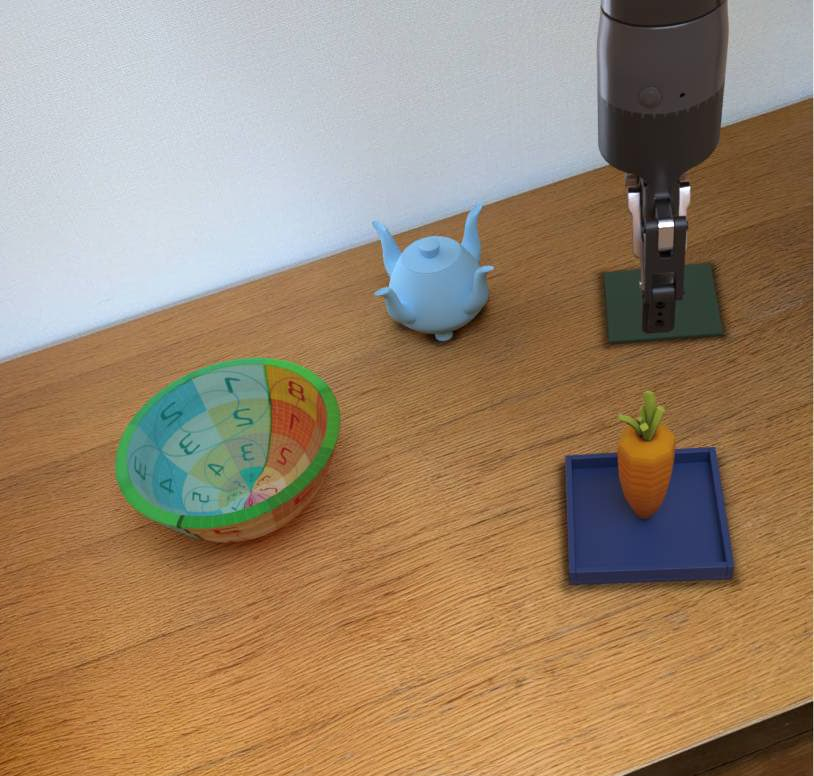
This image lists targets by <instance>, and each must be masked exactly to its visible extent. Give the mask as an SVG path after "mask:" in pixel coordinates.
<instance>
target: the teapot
mask: <svg viewBox="0 0 814 776" xmlns="http://www.w3.org/2000/svg"><path fill="white" fill-rule="evenodd" d="M482 208H483V203H481V202H479V203H477V204H475V205H474V206H473V207H472V208H471V209H470V210H469V212H468V214H467V217H466V220H465V225H464V231H463V238H462V241H461V243H460V242H458V241H456V240H455V239H453V238H451V237H447V236H441V235H432V236H431V235H430V236H426V237H422V238H419V239H417V240H415V241H413V242H412V243H410V244H409V245H408V246H407V247H406V248H405V249H404V250H403V251H401V250H400V248H399V246H398V245H397V242H396V240H395V239H394V237H393V235H392V233H391V232H390V231H389V229H388V228H387V226H385V225H384V224H383V223H382V222H380V221H377V220H372V221H371V224H372V225H371V226H372V228H373V229H374V230H375V232H376V233H377V235H378V237H379V239H380V243H381V247H382V260H383V265H384V268H385V270H386V273H387V275H388V277H389V278H390V279H389V284H388V286H385V287H381V288H379V289H377V290H376V291H375V292H374V296H376V297H383V299H384V302H385V308H386V311H387V313H388V315H389V317H390V318H391V319H392V320H393V321H395V322H397V323H400V324H401V325H403V326H405V327H406V328H409V329H410V330H412V331H415V332H418V333H422V334H427V335H435V338H436V340H438V341H441V342H445V341H448V340H451V338H452V337H453V336H454V333H453V331H456V330H459V329H460V328H463V327H464V326H466V325H467V324H469V323H470V322H471V321H472V320H474V318H475V317H477V315H478V314H479V313H480V312H481V311H482V310H483V308H484V307H485V306H486V304H487V302H488V300H489V297H490V289H489V283H488V280H487V276H488V274H489V273H490V272H491V271H493V270H494V269H495V267H494V266H493V265H483V266H481V265H480V259H481V256H482V245H481V239H480V235H479V228H478V221H479V216H480V213H481V211H482Z"/></svg>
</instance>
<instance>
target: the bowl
mask: <svg viewBox="0 0 814 776" xmlns="http://www.w3.org/2000/svg"><path fill="white" fill-rule="evenodd" d="M340 430H341V411H340V406H339V404H338V400H337V397H336V396H335V394H334V392H333V391H332V389H331V387H330V386H329V385H328V384H327V383H326V381H325V380H324V379H323V378H322V377H321V376H319V375H318V374H316V373H315V372H314V371H312V370H311V369H309V368H306V367H304V366H302V365H300V364H298V363H295V362H292V361H288V360H286V359H285V360H284V359H279V358H272V357H244V358H243V357H242V358H234V359H230V360H225V361H220V362H216V363H212V364H209V365H207V366H203V367H201V368H199V369H196V370H194V371H191V372H189V373H187V374H185V375H183V376H182V377H179V378H178V379H176V380H173V381H172V382H170V383H169V384H167V386H165V387H163V388H162V389H161V390H159V391H158V392H157V393H155V394H154V395H153V396H152V397H151V398H149V399H148V400H147V401H146V402H145V403H144V404H143V405H142V407H140V409H139V410H138V411H137V412H136V413H135V414H134V416H133V417H132V418H131V420H130V421H129V423H128V424H127V425H126V428H125V429H124V431H123V433H122V435H121V437H120V439H119V442H118V446H117V448H116V453H115V459H114V460H115V461H114V470H115V471H114V472H115V479H116V482H117V486H118V488H119V491H120V492H121V494H122V496H123V497H124V499H125V500H126V502H127V503H128V504H129V505H130V506H131V507H132V508H133V509H134V510H135V511H137V512H138V513H140V514H141V515H143V516H144V517H145V518H147V519H149V520H151V521H154V522H156V523H157V524H160V525H161V526H163V527H166V528H168V529H171V530H173V531H176V532H178V533H180V534H183V535H185V536H187V537H190V538H194V539H199V540H203V541H207V542H211V543H238V542H244V541H249V540H254V539H257V538H258V539H259V538H261V537H264V536H266V535H269V534H271V533H273V532H275V531H277V530H279V529H281V528H282V527H284V526H286V525H287V524H289V522H291V521H292V520H294V519H295V518H296V517H297V516H299V515H300V514H301V513H302V512H303V511H304V510H305V509H306V508H307V507H308V506H309V504H310V503H311V502H312V501H313V500H314V498H315V497H316V495H317V493H318V492H319V490H320V488H321V486H322V485H323V482H324V481H325V479H326V475H327V473H328V471H329V469H330V468H329V467H330V465H331V462H332V460H333V457H334V453H335V450H336V445H337V444H338V440H339V437H340V432H341V431H340Z"/></svg>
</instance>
